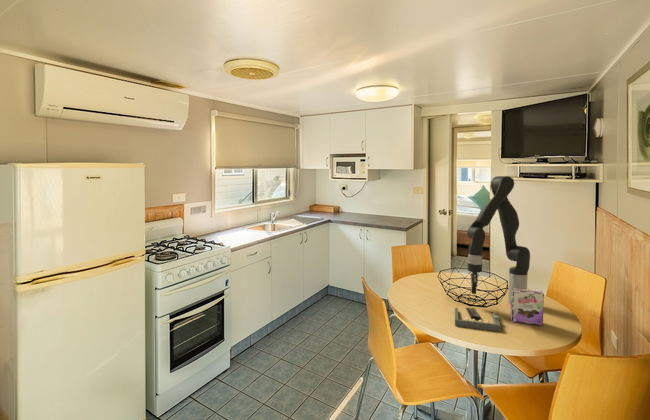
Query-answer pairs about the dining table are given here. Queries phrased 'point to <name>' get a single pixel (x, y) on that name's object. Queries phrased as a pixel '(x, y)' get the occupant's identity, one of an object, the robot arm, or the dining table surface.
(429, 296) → the dining table surface
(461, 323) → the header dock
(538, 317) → the candy box
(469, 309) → the multiport hub
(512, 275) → the robot arm
